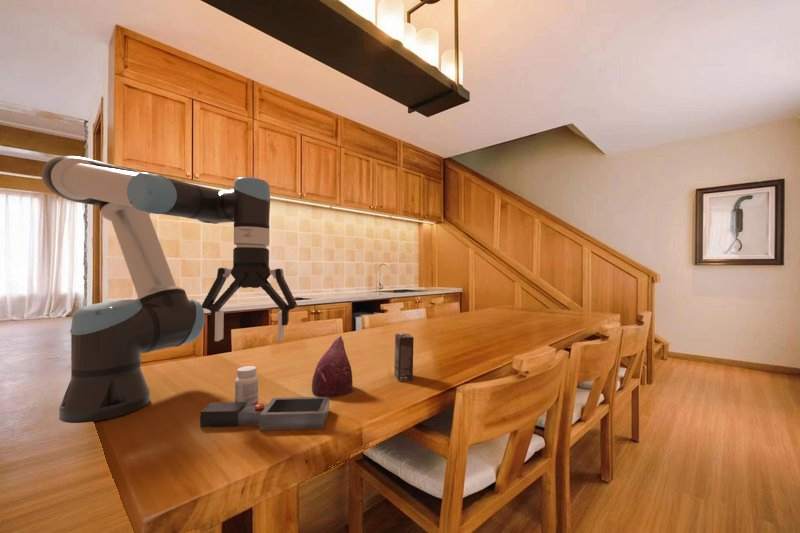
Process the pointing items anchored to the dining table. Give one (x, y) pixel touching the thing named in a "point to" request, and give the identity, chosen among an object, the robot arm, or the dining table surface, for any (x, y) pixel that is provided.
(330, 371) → the vegetable
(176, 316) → the robot arm
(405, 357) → the box
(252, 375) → the pill bottle
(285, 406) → the shallow gray tray
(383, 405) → the dining table surface
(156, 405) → the dining table surface
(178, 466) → the dining table surface
